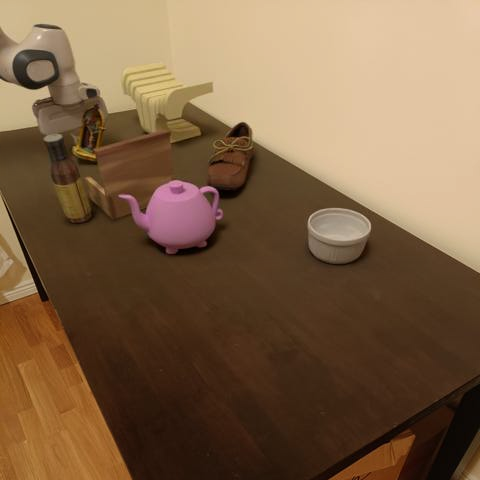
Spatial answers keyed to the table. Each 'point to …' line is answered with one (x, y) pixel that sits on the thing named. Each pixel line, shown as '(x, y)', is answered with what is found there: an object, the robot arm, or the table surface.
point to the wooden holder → (131, 172)
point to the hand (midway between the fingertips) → (80, 142)
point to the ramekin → (337, 235)
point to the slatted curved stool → (161, 99)
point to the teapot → (178, 215)
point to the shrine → (90, 134)
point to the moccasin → (231, 159)
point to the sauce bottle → (67, 181)
